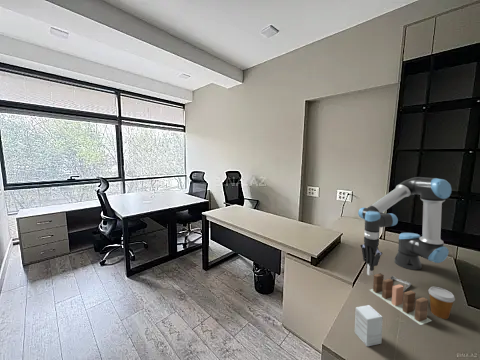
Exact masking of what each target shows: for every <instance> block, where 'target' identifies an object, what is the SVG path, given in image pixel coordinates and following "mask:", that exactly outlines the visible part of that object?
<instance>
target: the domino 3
mask: <svg viewBox="0 0 480 360" xmlns="http://www.w3.org/2000/svg"><path fill="white" fill-rule="evenodd" d="M403 290H405V288H404V285H402V284H401V283H399V284H395V285H393V288H392V304H393V305H395V306H397V305H400V304H403V297H404V292H403Z"/></svg>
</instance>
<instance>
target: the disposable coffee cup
mask: <svg viewBox="0 0 480 360" xmlns="http://www.w3.org/2000/svg"><path fill="white" fill-rule="evenodd" d="M427 290H428V291H427V292H428V294H429V302H430V303H429V304H430V306H429V307H430V312H431V314H433V315H434V316H435V317H437V318H440V319H443V320H447V319H449V317H450V316H451V315H450V313H451V311H452V308H453V304H454V302H455V301H456V297H455V295H454V294H453V292H451V291H450V290H447V289H445V288H444V287H443V288H442V287H439V286H430V287H429V289H427Z"/></svg>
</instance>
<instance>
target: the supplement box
mask: <svg viewBox="0 0 480 360" xmlns="http://www.w3.org/2000/svg"><path fill="white" fill-rule="evenodd" d="M354 311H355V313H354V316H355V317H354V318H355V319H354V333H355V335H356V336H357V337H358V338H359V339H360V341H362V343H363V344H364V345H365V347H370V346H375V345H379V344H380V345H381V344H382V337H383V316H382V315H381V314H380V313H379V312H378V311H377V310H376V309H374V307H372V306H371V305H370V304H367V305H361V306H356V307H355V310H354Z"/></svg>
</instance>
